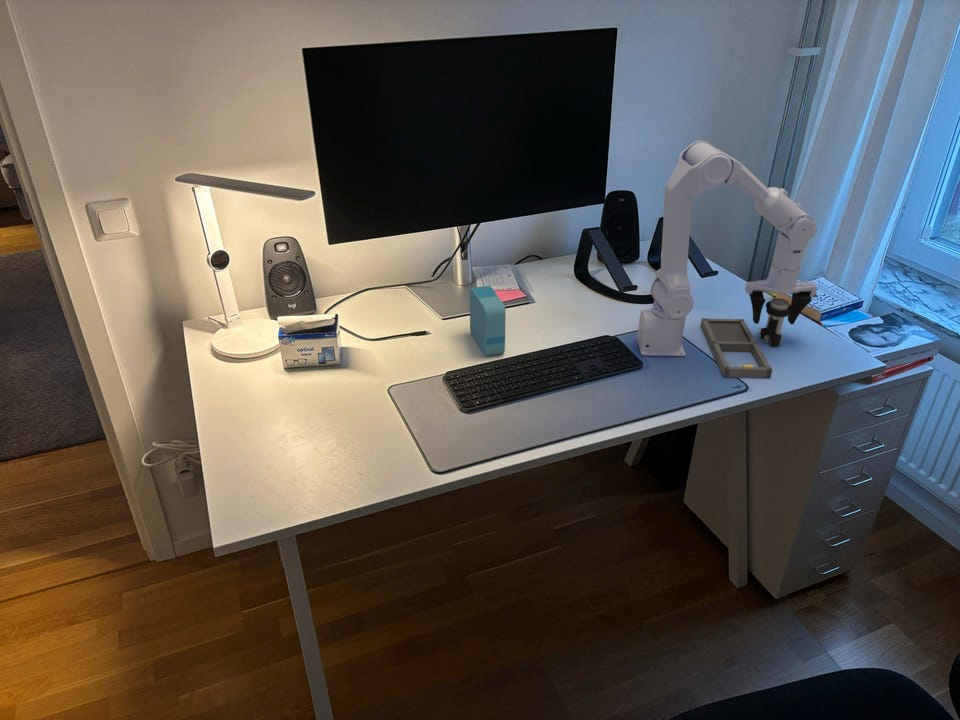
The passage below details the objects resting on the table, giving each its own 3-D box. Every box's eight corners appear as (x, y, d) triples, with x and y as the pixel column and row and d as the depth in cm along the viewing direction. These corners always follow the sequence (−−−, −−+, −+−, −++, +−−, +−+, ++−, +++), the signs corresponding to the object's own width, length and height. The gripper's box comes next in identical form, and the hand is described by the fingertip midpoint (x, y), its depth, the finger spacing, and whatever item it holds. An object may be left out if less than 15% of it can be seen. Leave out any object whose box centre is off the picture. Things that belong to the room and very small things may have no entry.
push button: (748, 336, 166) (757, 296, 161) (767, 331, 168) (776, 292, 163) (769, 349, 161) (778, 309, 156) (788, 345, 163) (798, 304, 157)
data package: (505, 356, 159) (506, 306, 152) (485, 359, 158) (485, 309, 151) (488, 330, 168) (489, 282, 162) (469, 333, 167) (469, 285, 161)
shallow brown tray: (723, 377, 151) (725, 366, 150) (700, 326, 170) (702, 316, 169) (770, 378, 151) (772, 367, 150) (741, 326, 170) (743, 316, 169)
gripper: (814, 258, 158) (800, 313, 165) (746, 257, 159) (735, 313, 166) (826, 271, 152) (811, 329, 159) (755, 270, 153) (743, 328, 160)
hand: (773, 321), depth 162 cm, fingers open, 7 cm apart
